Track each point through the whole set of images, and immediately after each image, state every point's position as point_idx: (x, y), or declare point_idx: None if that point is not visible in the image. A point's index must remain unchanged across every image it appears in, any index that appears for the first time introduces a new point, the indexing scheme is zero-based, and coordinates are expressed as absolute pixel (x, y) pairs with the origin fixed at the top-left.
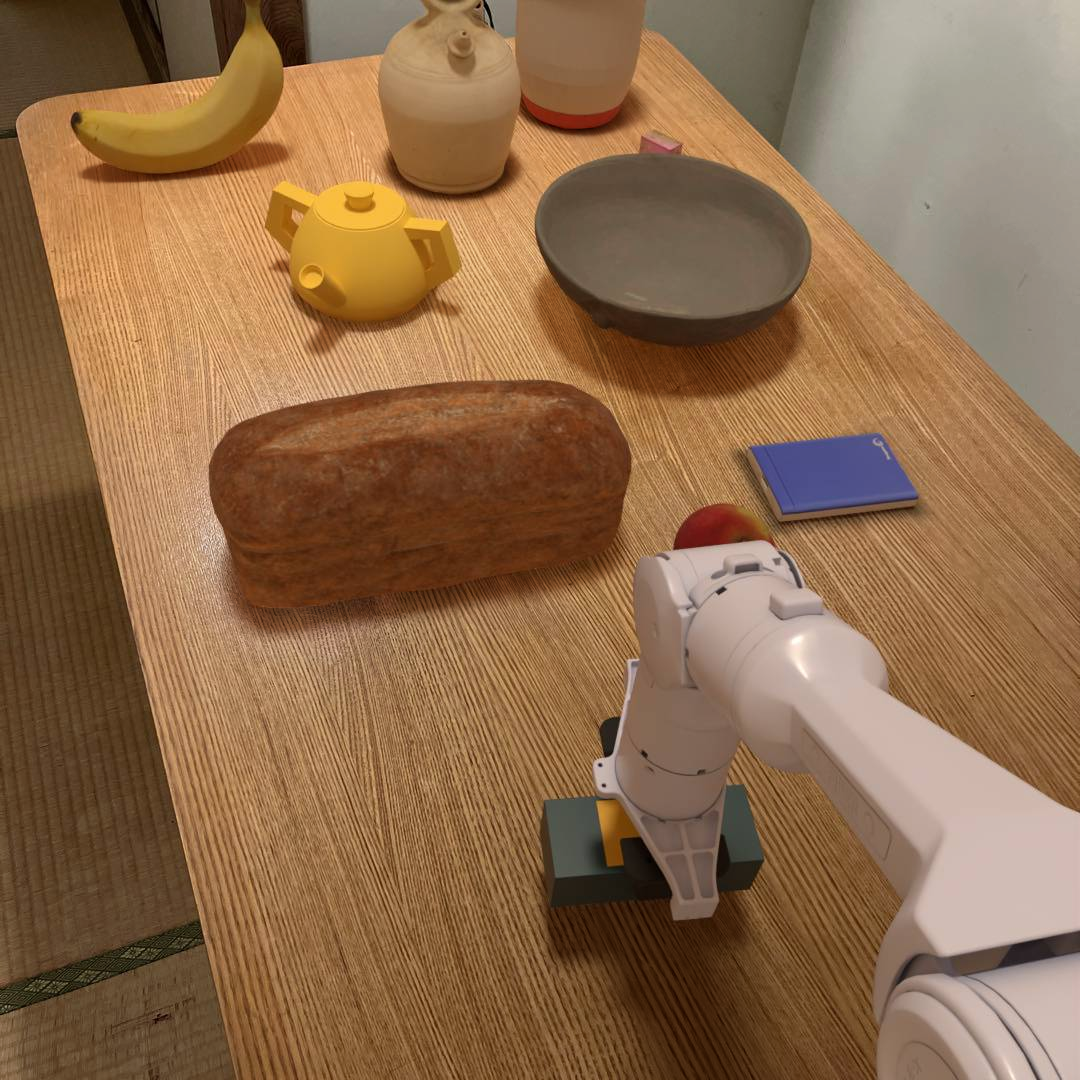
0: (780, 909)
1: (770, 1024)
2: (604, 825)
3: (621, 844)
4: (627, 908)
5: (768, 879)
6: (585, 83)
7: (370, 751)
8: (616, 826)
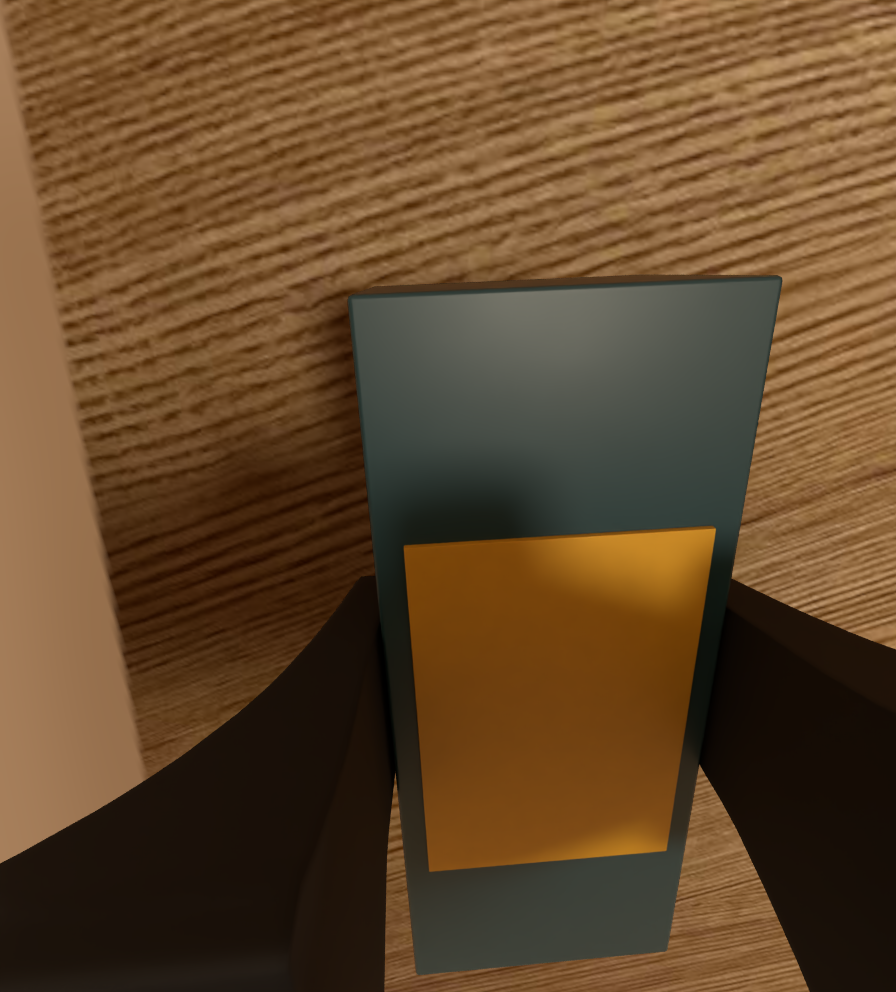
0: None
1: (214, 709)
2: (594, 551)
3: (233, 948)
4: None
5: None
6: None
7: None
8: (582, 597)
